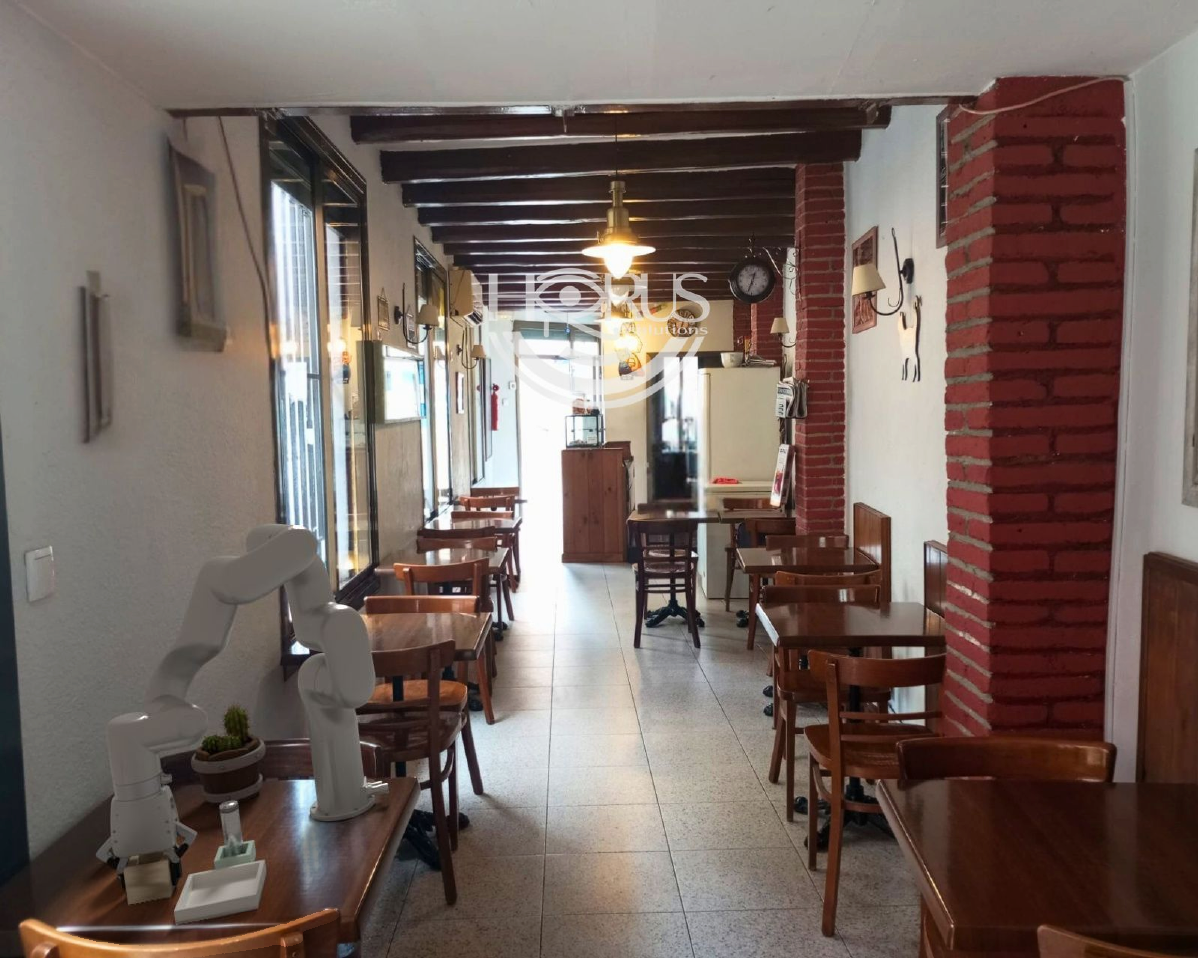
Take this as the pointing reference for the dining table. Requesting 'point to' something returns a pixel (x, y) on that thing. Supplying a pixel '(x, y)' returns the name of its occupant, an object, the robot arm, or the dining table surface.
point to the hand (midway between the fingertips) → (153, 885)
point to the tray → (221, 892)
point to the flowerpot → (230, 761)
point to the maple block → (148, 877)
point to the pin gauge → (231, 828)
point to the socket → (247, 857)
